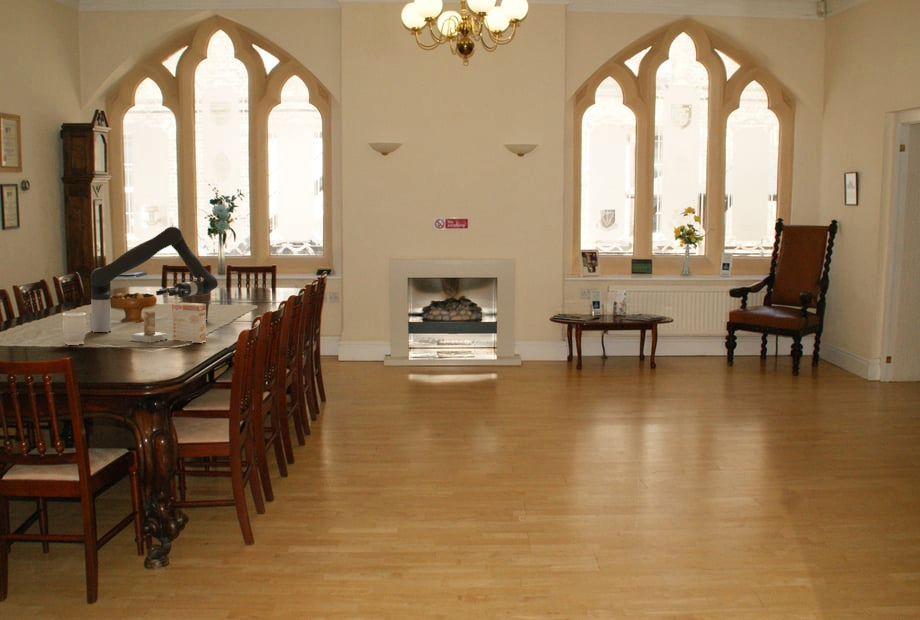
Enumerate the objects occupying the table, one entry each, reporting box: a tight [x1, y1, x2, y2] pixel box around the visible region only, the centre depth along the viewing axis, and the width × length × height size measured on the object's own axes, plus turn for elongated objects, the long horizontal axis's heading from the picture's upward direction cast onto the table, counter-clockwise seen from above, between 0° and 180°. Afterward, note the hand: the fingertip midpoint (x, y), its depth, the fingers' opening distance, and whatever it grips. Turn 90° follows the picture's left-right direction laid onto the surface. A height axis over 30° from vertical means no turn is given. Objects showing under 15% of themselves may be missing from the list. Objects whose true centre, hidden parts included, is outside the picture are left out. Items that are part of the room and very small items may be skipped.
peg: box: [143, 310, 156, 335], centre depth 438 cm, size 4×4×14 cm
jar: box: [61, 311, 87, 346], centre depth 424 cm, size 11×10×15 cm
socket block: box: [130, 331, 169, 344], centre depth 438 cm, size 12×12×4 cm
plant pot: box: [182, 292, 212, 320], centre depth 510 cm, size 16×16×16 cm
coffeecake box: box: [171, 301, 207, 342], centre depth 440 cm, size 15×7×20 cm, turn 74°
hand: (163, 293), depth 445 cm, fingers open, 8 cm apart
